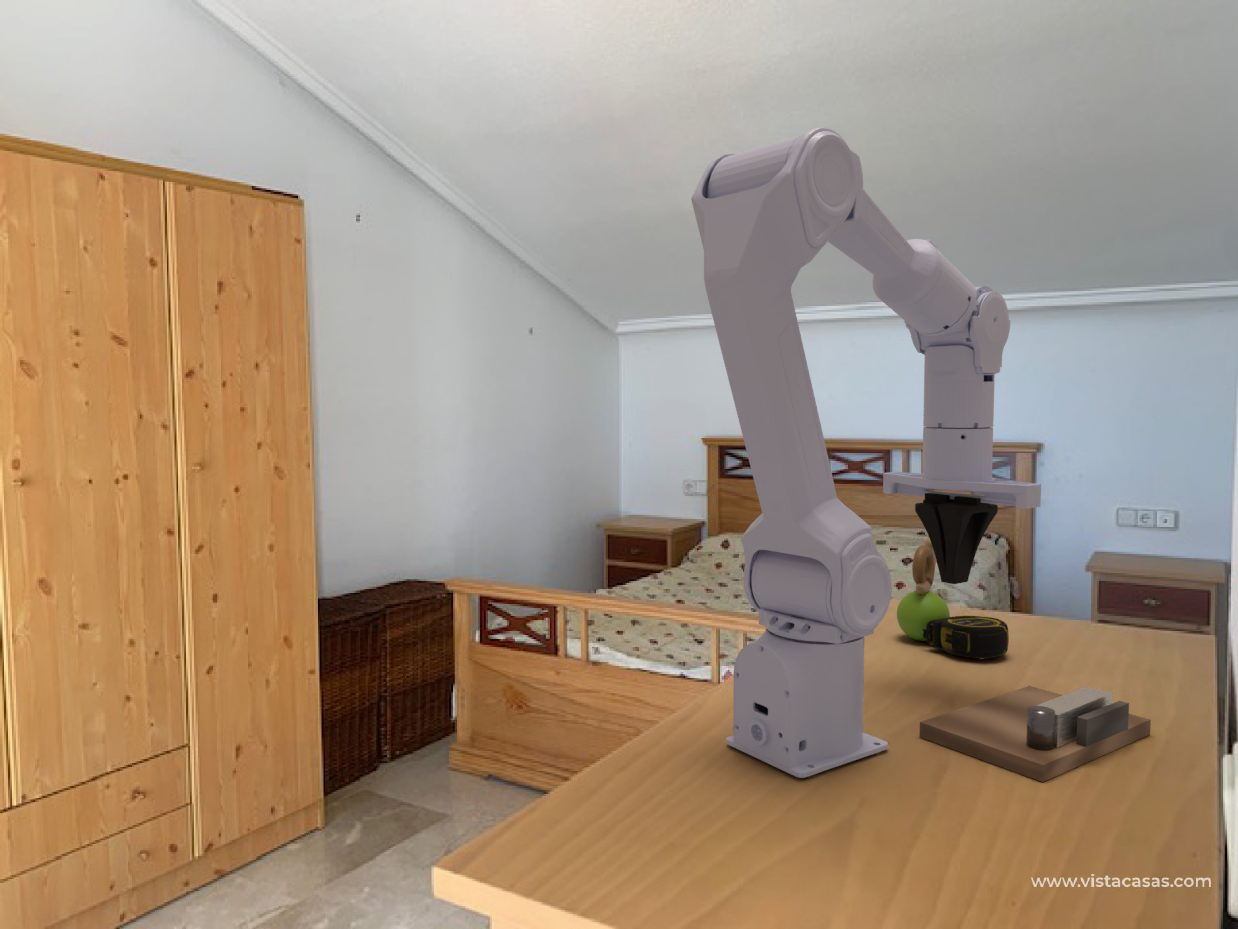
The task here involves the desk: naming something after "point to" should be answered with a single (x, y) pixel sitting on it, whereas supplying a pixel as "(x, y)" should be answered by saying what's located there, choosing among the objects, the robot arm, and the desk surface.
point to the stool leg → (1062, 717)
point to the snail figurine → (921, 596)
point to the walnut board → (1003, 729)
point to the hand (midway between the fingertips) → (954, 581)
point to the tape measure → (968, 636)
